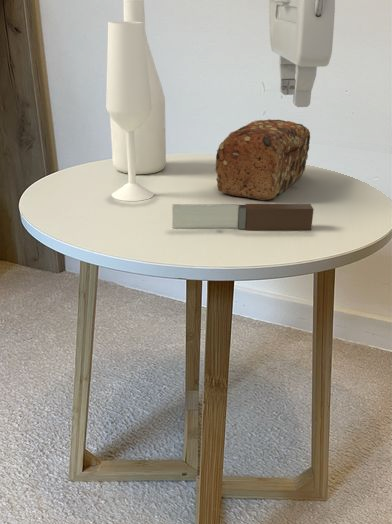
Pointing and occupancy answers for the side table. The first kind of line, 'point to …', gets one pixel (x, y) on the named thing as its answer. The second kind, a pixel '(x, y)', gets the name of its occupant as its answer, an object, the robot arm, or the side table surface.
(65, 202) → the side table surface
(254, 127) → the bread
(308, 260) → the side table surface
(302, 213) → the knife
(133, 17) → the wine bottle
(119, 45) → the champagne flute
